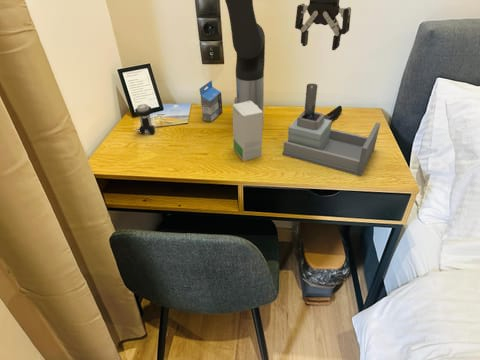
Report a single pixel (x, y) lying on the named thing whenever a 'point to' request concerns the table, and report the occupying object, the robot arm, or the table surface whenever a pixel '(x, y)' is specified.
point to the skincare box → (247, 130)
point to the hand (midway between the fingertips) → (319, 47)
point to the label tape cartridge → (210, 102)
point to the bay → (338, 151)
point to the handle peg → (310, 101)
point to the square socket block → (310, 131)
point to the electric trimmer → (334, 113)
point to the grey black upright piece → (145, 119)
